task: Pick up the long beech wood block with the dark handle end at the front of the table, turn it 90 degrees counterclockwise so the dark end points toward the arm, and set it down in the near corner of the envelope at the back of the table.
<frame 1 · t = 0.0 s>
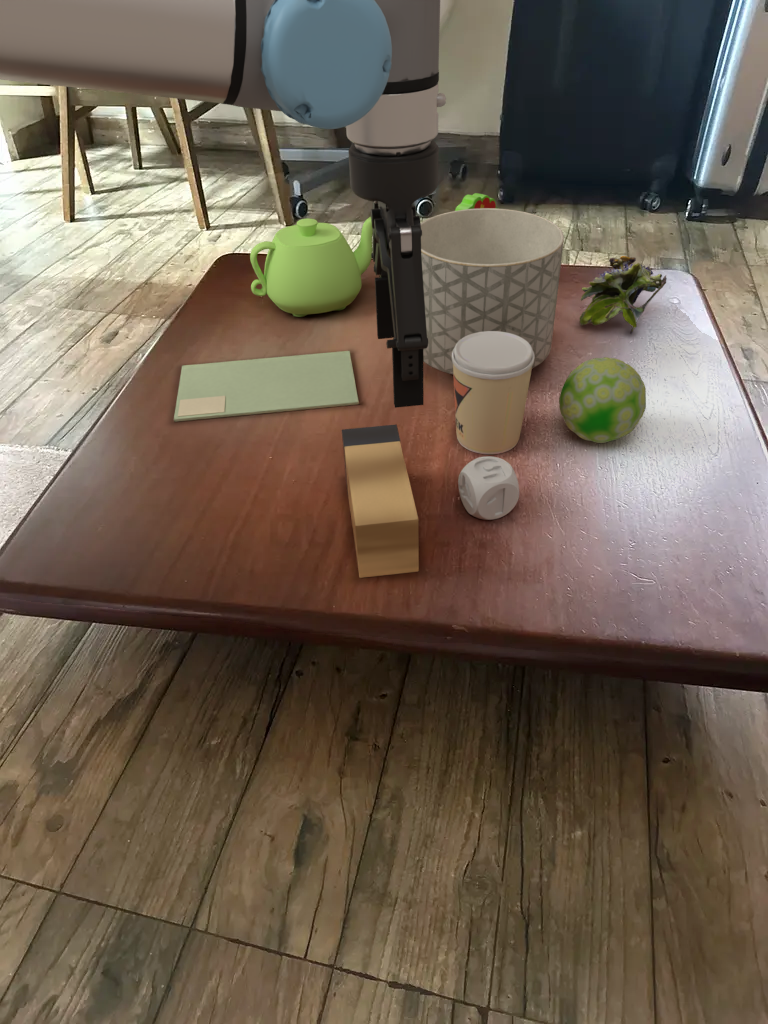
hand: (398, 368, 78), 16 cm above the table, tool pointing down, fingers open, 13 cm apart
beech block: (379, 522, 84), on the table
coffee cup: (487, 437, 96), on the table
teapot: (321, 302, 127), on the table
die: (487, 507, 86), on the table
passion flower: (619, 323, 118), on the table
envelope: (267, 385, 107), on the table
decorative ball: (595, 436, 95), on the table
planter: (480, 363, 110), on the table
toy lion: (463, 295, 127), on the table
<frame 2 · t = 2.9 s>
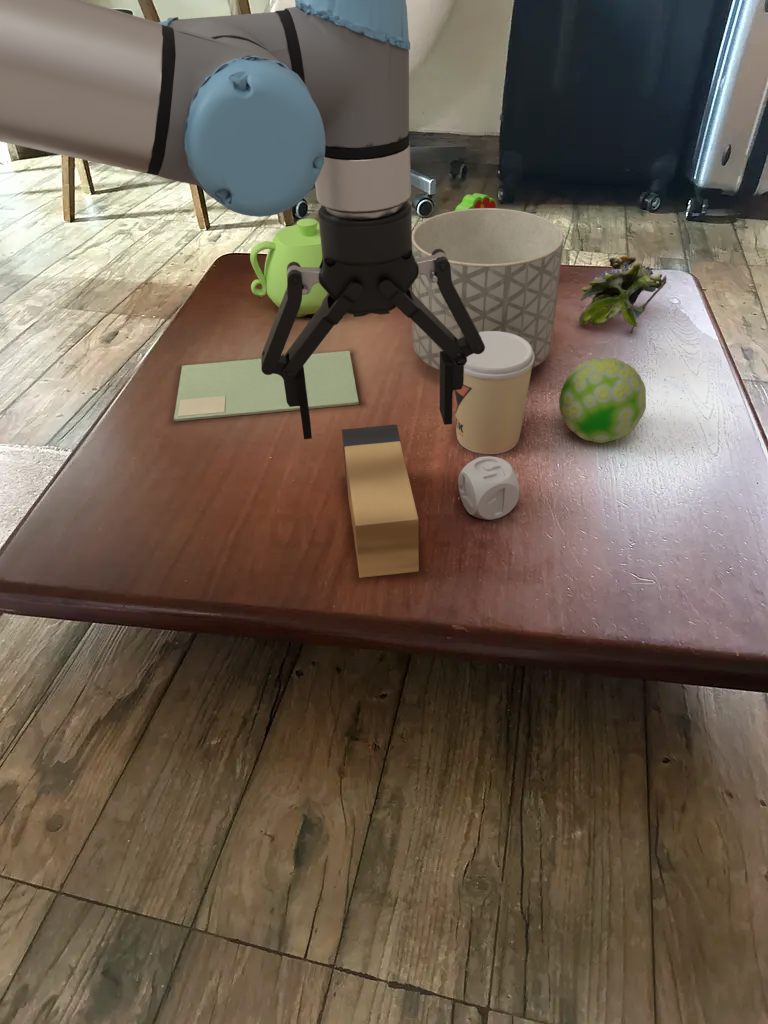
hand: (376, 424, 76), 13 cm above the table, tool pointing down, fingers open, 13 cm apart
nothing on the table moved.
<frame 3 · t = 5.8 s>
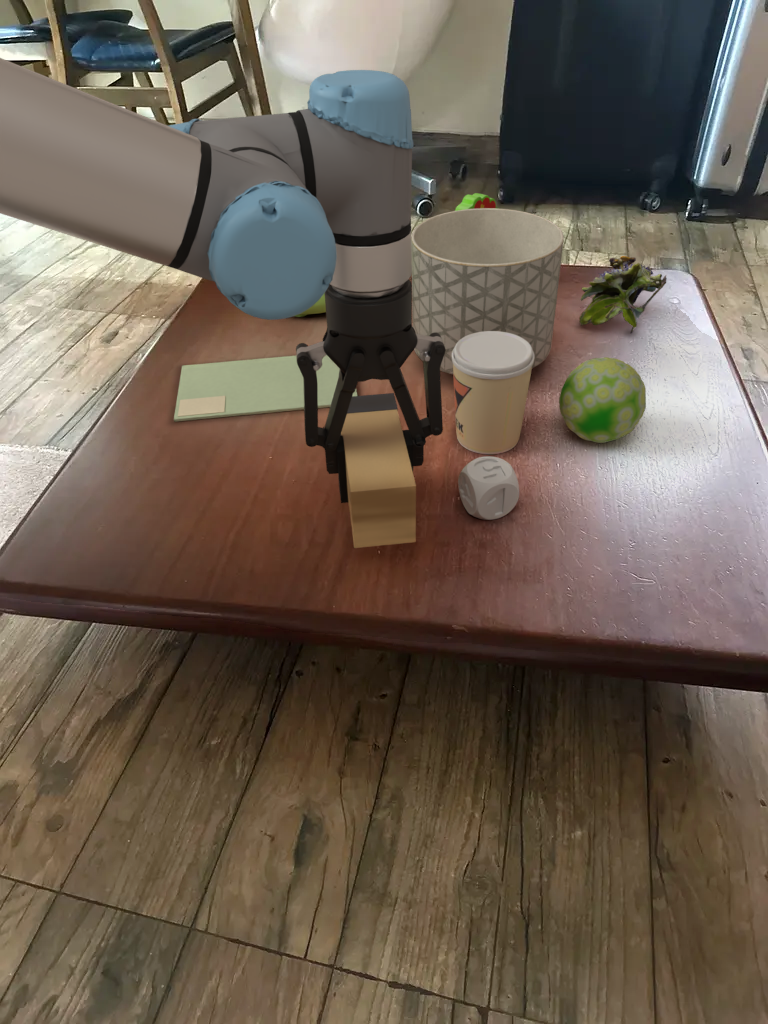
hand: (375, 491, 81), 4 cm above the table, tool pointing down, fingers closed on beech block, 6 cm apart
beech block: (375, 493, 81), point 4 cm above the table, touching gripper
everything else where it was.
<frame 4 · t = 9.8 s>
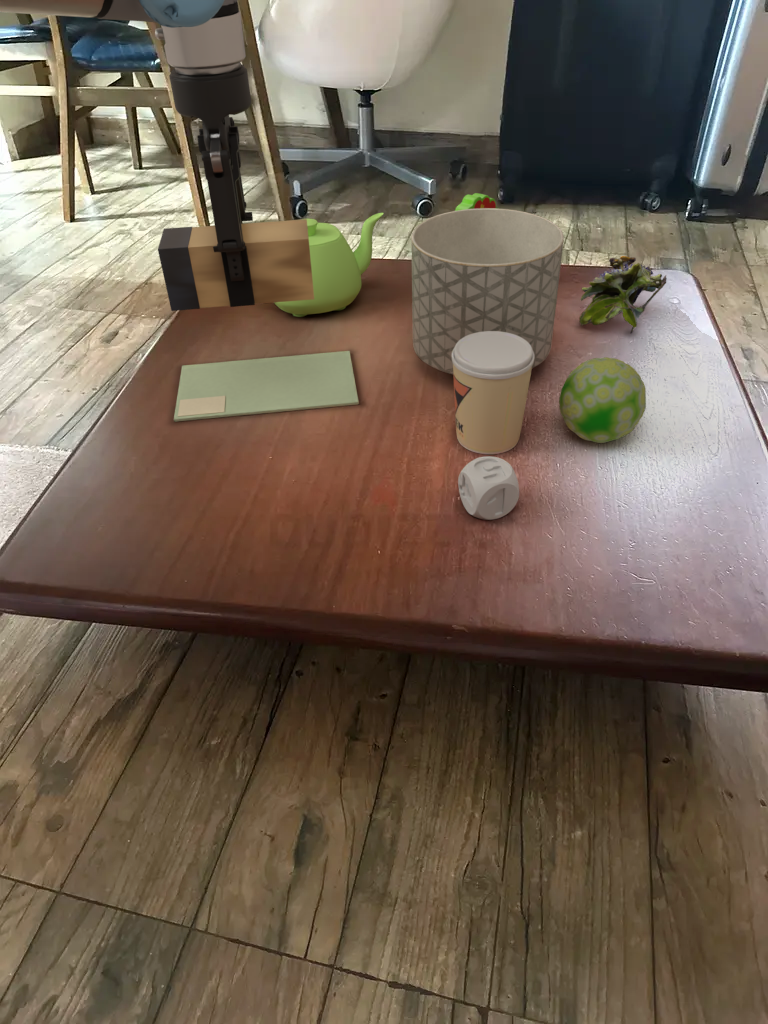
hand: (243, 291, 90), 17 cm above the table, tool pointing down, fingers closed on beech block, 6 cm apart
beech block: (244, 293, 91), point 17 cm above the table, touching gripper
everything else where it was.
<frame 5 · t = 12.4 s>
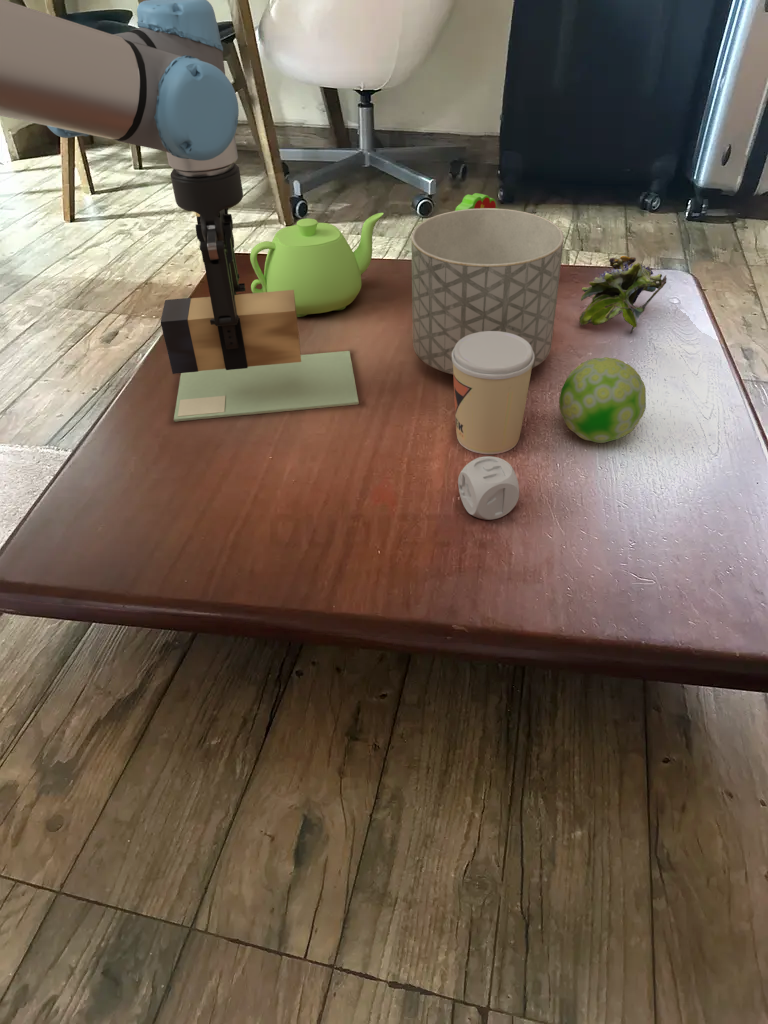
hand: (237, 354, 100), 7 cm above the table, tool pointing down, fingers closed on beech block, 6 cm apart
beech block: (238, 356, 100), point 6 cm above the table, touching gripper
everything else where it was.
when the fingers open (1 cm above the table, at t = 14.0 s): beech block stays where it is, resting on envelope.
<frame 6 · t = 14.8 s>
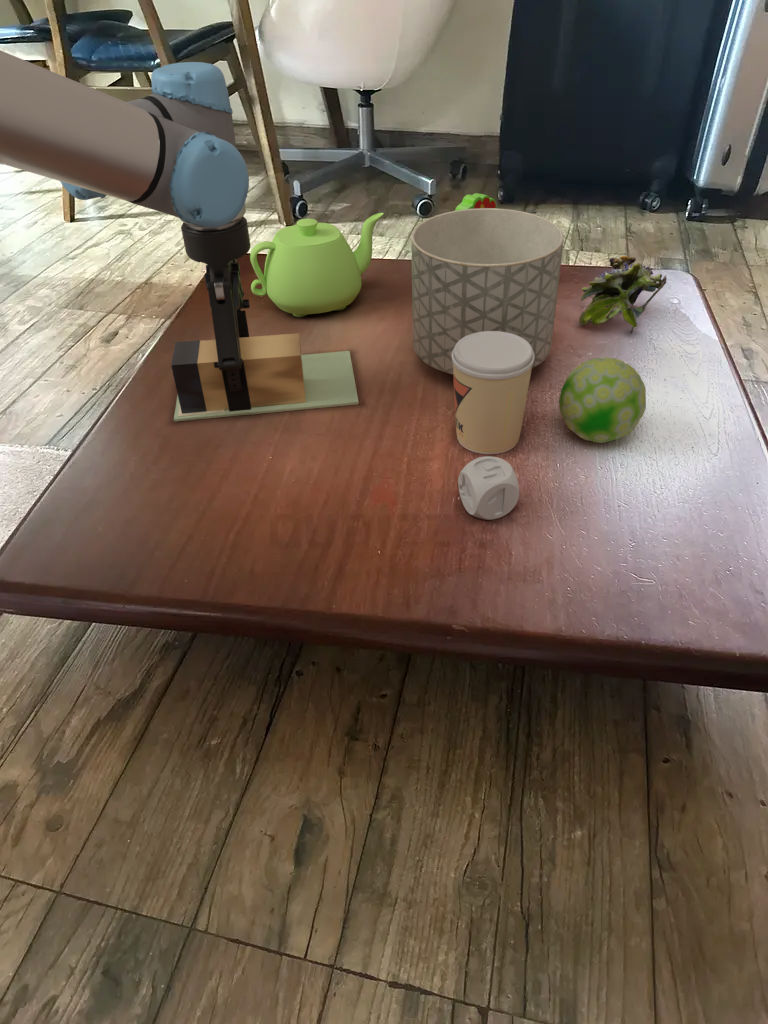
hand: (241, 381, 103), 3 cm above the table, tool pointing down, fingers open, 13 cm apart
beech block: (244, 395, 104), resting on envelope
everything else where it was.
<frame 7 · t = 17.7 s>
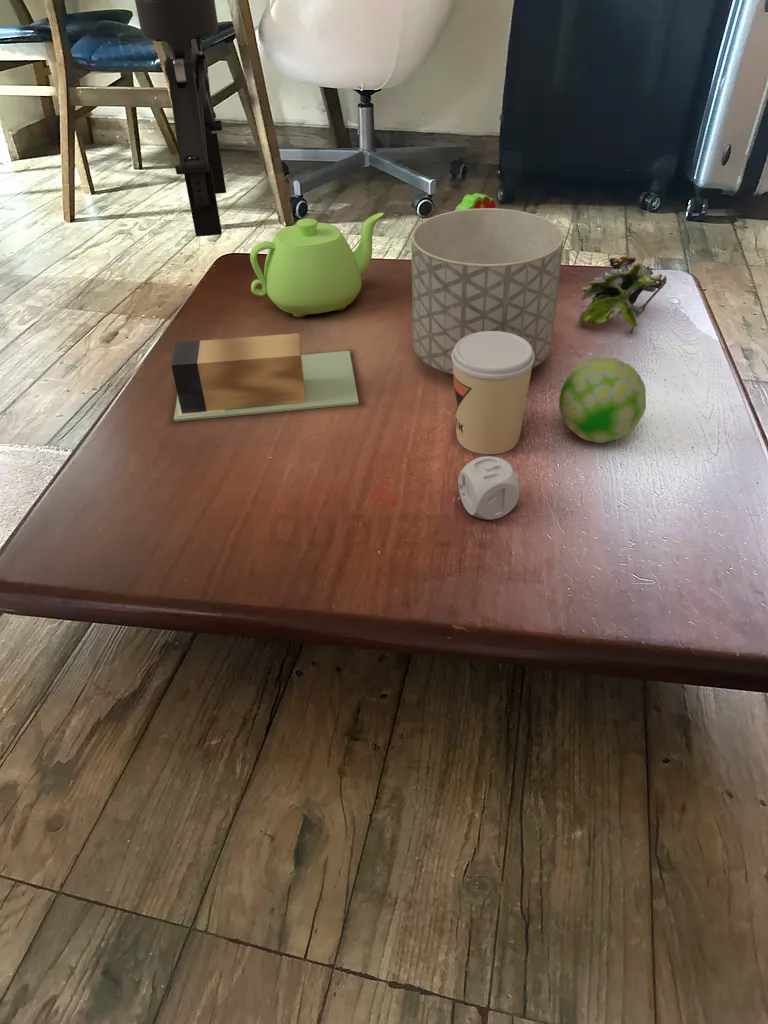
hand: (212, 212, 89), 25 cm above the table, tool pointing down, fingers open, 13 cm apart
nothing on the table moved.
at the end: beech block inside the target area on the envelope (1.1 cm from its centre), point 0.5 cm above the envelope's base; beech block tilted 1°; the gripper is holding nothing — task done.
